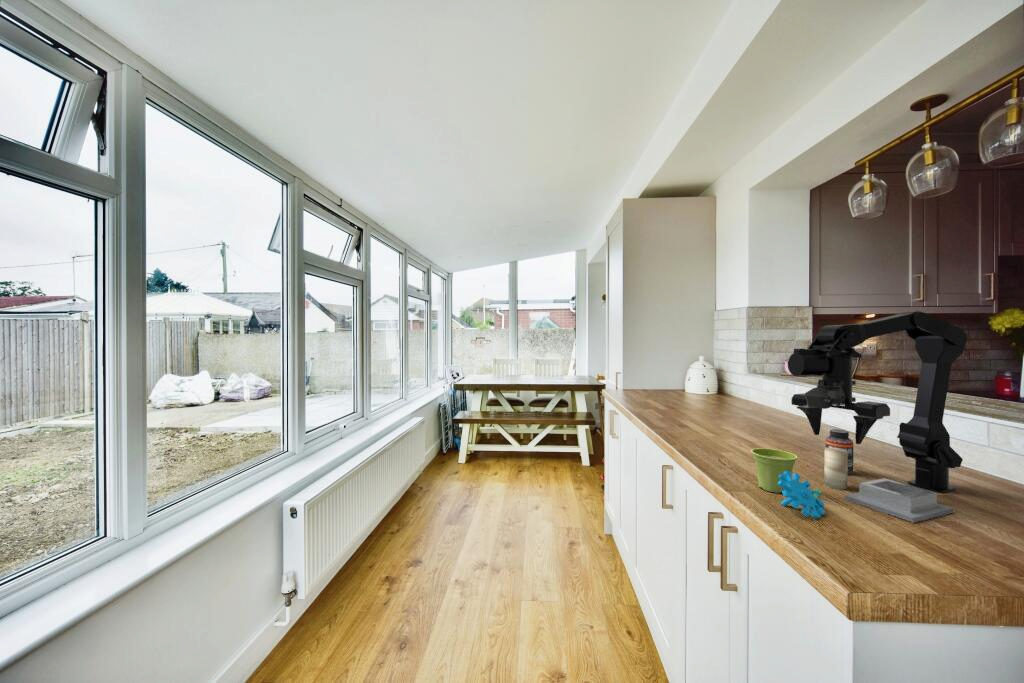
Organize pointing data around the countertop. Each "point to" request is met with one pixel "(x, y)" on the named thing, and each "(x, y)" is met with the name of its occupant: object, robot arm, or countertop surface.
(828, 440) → the supplement bottle
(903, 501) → the socket collar
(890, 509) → the socket plate
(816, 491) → the blue knobbly cluster
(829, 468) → the beech peg
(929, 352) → the robot arm
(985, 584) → the countertop surface
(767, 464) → the plant pot
